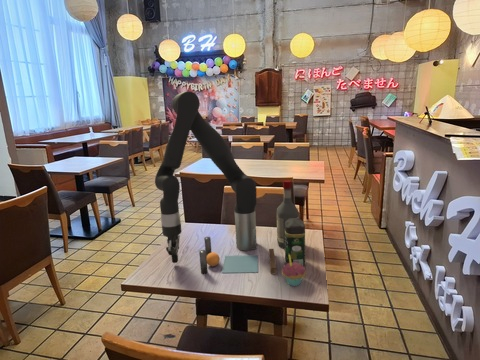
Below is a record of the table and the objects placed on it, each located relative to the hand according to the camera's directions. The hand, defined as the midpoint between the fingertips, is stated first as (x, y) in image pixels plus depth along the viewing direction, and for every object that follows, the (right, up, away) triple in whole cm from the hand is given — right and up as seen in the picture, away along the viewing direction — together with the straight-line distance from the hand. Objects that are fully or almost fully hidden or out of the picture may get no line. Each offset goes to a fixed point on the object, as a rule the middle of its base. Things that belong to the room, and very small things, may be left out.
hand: (175, 261), depth 131 cm
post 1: (+13, -2, -6) cm, 15 cm away
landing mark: (+27, 0, -1) cm, 27 cm away
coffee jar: (+49, 0, -3) cm, 49 cm away
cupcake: (+46, -3, -16) cm, 49 cm away
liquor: (+49, +4, +14) cm, 51 cm away
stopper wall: (+40, 0, -2) cm, 40 cm away
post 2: (+13, +1, +6) cm, 15 cm away
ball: (+16, +2, -2) cm, 16 cm away
